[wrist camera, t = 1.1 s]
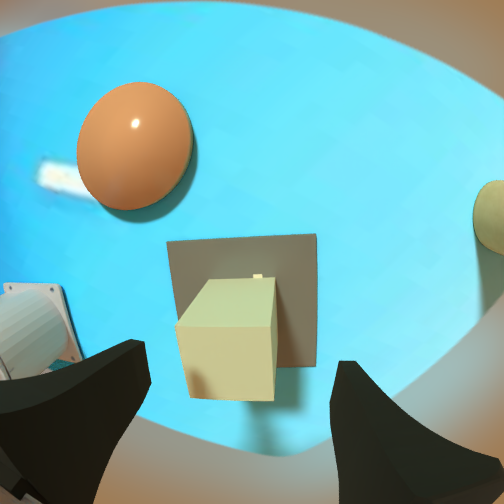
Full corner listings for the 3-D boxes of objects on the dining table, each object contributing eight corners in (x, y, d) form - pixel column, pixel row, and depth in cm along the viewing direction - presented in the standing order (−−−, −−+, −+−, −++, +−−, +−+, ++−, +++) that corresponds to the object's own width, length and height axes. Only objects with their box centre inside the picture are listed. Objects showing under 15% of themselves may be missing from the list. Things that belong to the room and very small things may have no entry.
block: (216, 337, 21) (190, 397, 15) (208, 279, 20) (174, 326, 14) (278, 336, 21) (273, 400, 14) (275, 277, 20) (270, 326, 13)
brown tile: (187, 364, 23) (187, 365, 22) (167, 241, 20) (166, 242, 20) (315, 364, 21) (315, 366, 21) (315, 233, 19) (316, 234, 19)
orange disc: (89, 214, 20) (81, 216, 20) (83, 102, 18) (76, 100, 17) (198, 202, 19) (193, 203, 18) (190, 74, 17) (185, 69, 16)
